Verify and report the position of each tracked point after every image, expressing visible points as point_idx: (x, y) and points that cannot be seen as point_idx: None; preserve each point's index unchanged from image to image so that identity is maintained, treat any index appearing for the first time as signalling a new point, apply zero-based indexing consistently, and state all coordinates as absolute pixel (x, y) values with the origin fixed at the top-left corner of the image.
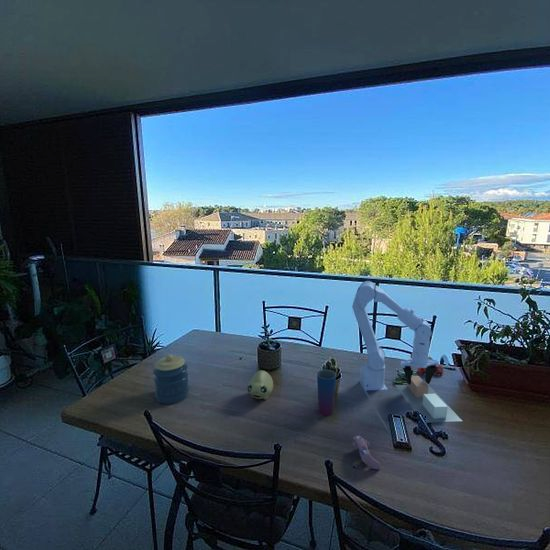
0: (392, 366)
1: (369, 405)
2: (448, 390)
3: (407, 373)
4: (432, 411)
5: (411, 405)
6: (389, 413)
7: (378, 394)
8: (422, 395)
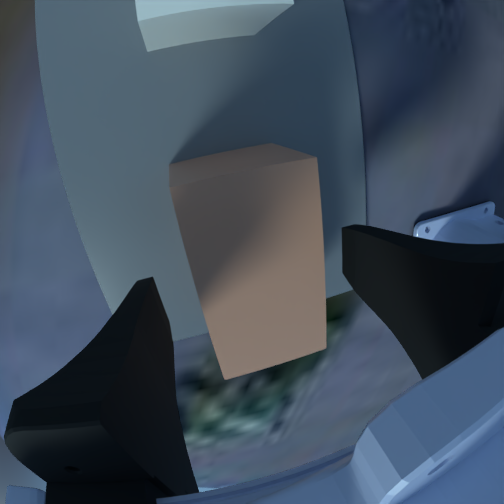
0: (287, 445)
1: (498, 85)
2: (8, 306)
3: (495, 246)
4: None
5: (340, 31)
6: (448, 7)
7: (459, 177)
8: (217, 155)
